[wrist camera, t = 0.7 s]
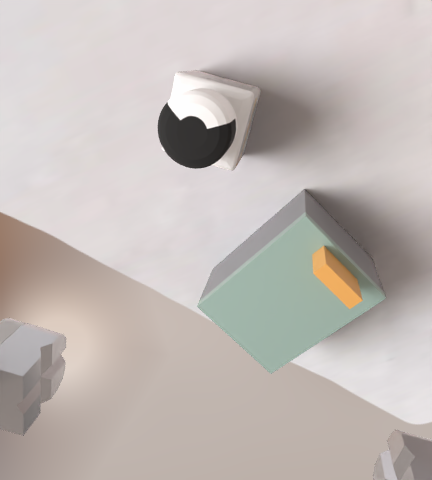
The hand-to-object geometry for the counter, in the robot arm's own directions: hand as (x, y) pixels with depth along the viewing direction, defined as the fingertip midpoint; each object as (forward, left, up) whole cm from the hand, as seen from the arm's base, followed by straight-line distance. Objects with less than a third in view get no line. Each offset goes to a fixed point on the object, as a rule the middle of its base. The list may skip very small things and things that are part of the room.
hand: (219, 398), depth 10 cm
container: (+3, -7, -40) cm, 41 cm away
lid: (+10, +12, -32) cm, 36 cm away
